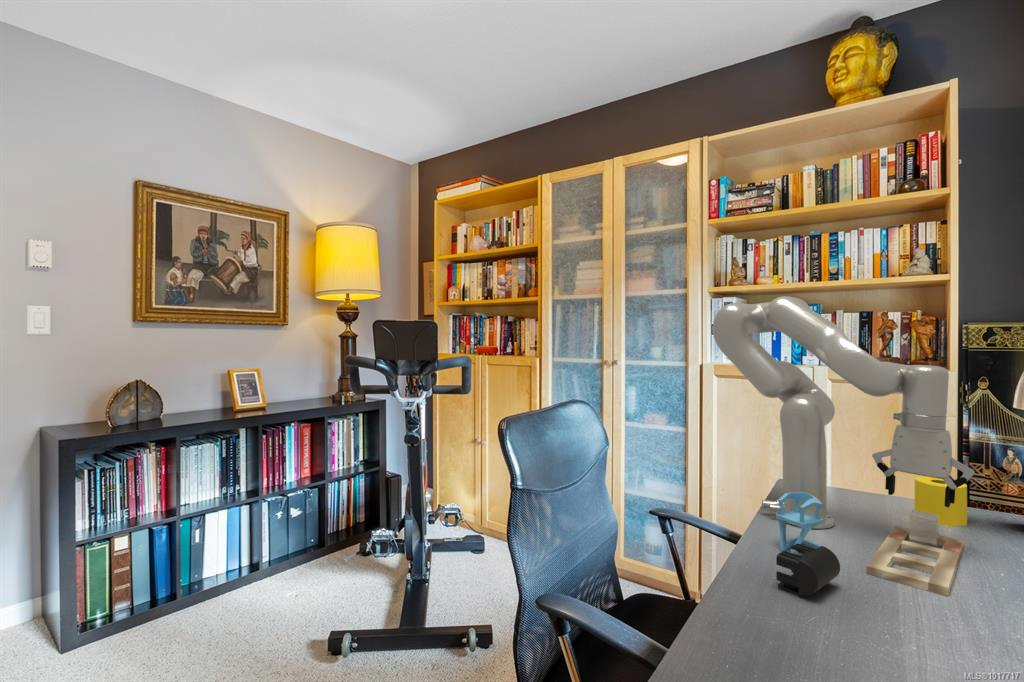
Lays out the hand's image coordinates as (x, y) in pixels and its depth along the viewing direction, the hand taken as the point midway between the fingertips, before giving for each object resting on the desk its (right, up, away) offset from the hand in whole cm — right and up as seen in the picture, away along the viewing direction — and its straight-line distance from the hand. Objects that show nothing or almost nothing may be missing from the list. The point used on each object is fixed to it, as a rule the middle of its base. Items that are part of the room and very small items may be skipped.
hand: (918, 499), depth 110 cm
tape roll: (+19, -10, +16) cm, 27 cm away
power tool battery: (-35, -11, -18) cm, 41 cm away
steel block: (+1, -10, -1) cm, 10 cm away
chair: (-27, -11, -2) cm, 29 cm away
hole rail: (-6, -10, -7) cm, 14 cm away
